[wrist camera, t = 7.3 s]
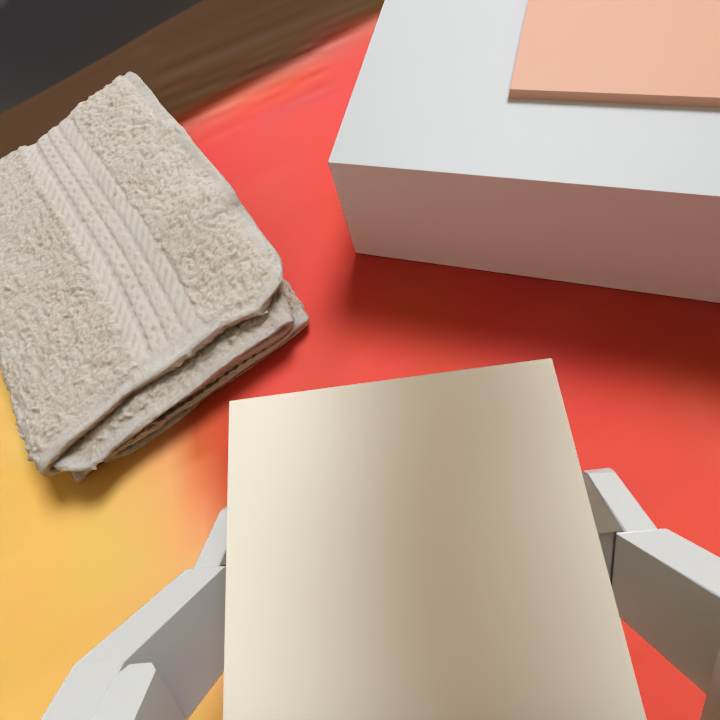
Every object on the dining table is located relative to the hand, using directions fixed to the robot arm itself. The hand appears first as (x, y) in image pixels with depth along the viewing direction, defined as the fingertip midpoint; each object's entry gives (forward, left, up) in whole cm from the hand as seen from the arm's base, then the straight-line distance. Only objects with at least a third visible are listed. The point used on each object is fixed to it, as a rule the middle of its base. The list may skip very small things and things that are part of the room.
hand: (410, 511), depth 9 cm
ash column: (0, -1, -5) cm, 5 cm away
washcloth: (-16, +7, -6) cm, 18 cm away
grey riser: (+4, +16, -5) cm, 18 cm away
